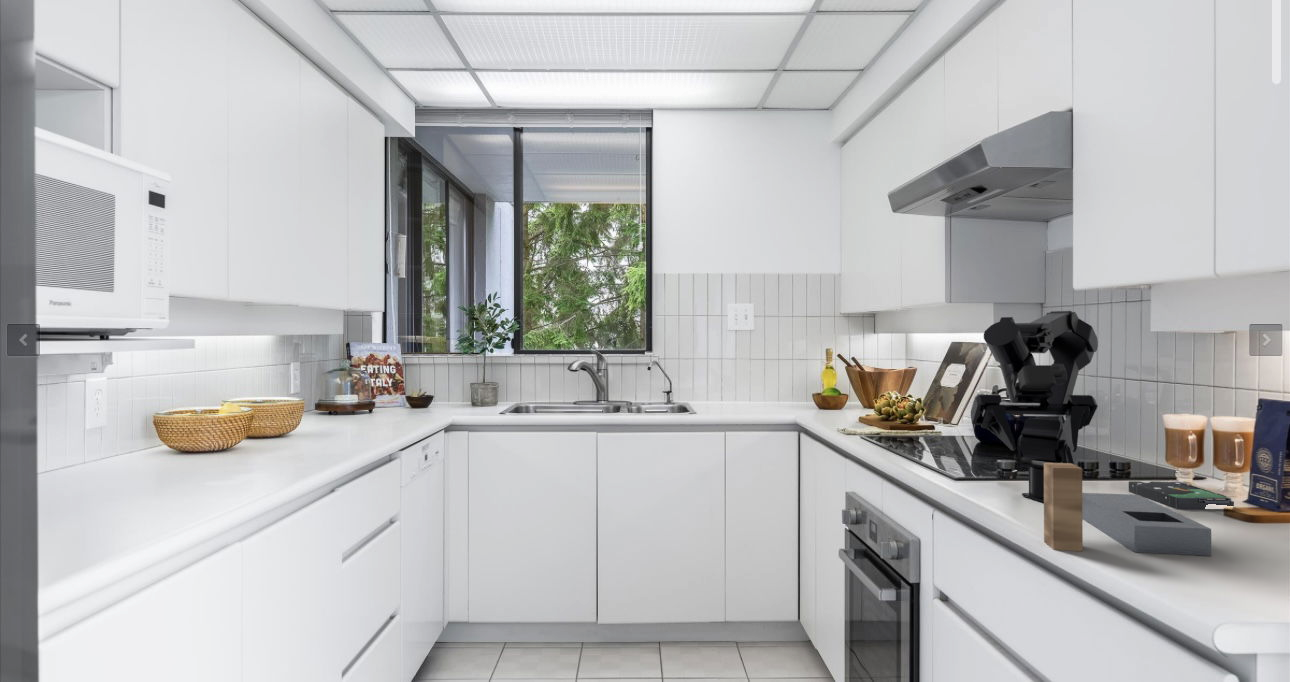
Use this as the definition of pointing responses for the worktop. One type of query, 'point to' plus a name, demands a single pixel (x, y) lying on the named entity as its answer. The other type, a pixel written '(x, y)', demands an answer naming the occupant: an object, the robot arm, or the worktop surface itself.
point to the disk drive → (1178, 495)
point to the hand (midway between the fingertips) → (1043, 449)
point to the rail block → (1145, 525)
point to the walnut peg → (1063, 506)
